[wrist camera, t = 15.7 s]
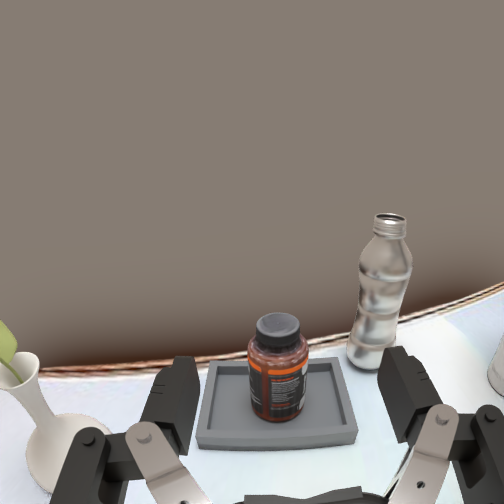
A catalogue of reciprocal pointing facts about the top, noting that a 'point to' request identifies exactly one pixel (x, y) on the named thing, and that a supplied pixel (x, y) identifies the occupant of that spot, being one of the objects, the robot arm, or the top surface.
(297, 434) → the gray tray
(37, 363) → the flower in vase
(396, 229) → the plastic bottle
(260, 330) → the supplement bottle
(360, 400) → the top surface
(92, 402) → the top surface
